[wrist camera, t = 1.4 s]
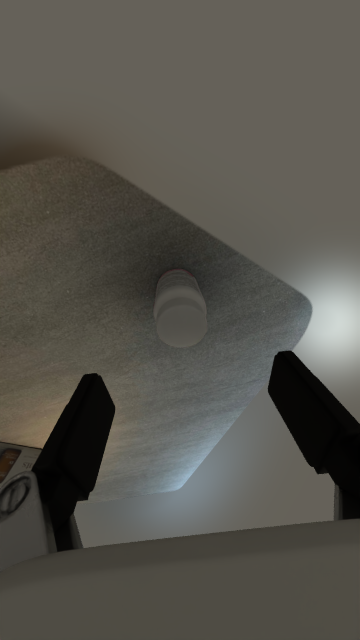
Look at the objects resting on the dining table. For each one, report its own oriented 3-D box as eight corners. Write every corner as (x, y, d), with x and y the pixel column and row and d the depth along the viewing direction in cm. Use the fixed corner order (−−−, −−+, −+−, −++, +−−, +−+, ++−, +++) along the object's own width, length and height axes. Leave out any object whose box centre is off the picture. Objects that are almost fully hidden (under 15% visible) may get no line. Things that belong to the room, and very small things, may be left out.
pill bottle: (148, 283, 20) (137, 322, 13) (182, 258, 19) (191, 286, 12) (172, 313, 23) (174, 360, 15) (204, 292, 21) (223, 333, 14)
